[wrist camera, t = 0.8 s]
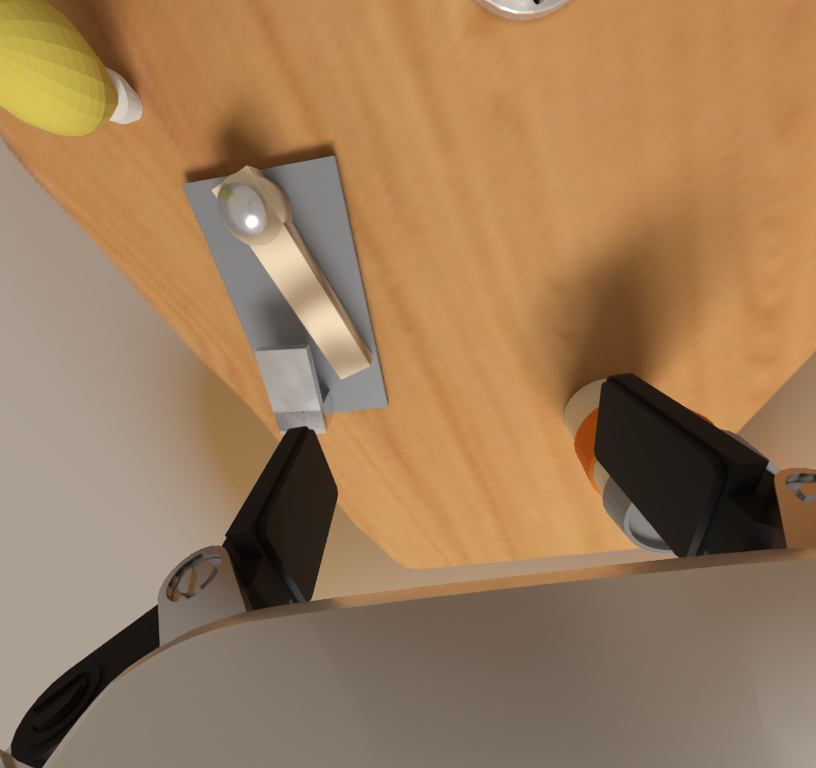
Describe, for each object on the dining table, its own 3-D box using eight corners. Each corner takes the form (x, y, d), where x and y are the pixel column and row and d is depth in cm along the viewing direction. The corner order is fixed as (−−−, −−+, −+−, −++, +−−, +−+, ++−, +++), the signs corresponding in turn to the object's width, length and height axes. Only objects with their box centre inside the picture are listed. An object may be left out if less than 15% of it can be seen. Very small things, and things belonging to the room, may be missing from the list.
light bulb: (177, 162, 26) (61, 134, 18) (94, 143, 26) (-69, 105, 17) (162, 56, 23) (12, -44, 14) (67, 32, 23) (-151, -87, 14)
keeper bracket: (272, 335, 33) (253, 351, 29) (318, 332, 33) (305, 348, 29) (294, 412, 38) (281, 435, 34) (334, 410, 37) (325, 432, 33)
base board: (189, 185, 27) (182, 184, 26) (336, 157, 26) (334, 155, 25) (284, 415, 39) (281, 419, 38) (388, 402, 38) (388, 406, 37)
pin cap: (217, 188, 24) (208, 187, 23) (261, 180, 24) (254, 178, 22) (236, 238, 26) (228, 239, 24) (277, 231, 25) (271, 232, 24)
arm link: (219, 196, 26) (203, 194, 24) (267, 163, 25) (254, 158, 23) (339, 372, 35) (334, 382, 32) (379, 353, 33) (377, 362, 31)
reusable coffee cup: (617, 343, 34) (748, 421, 21) (672, 404, 38) (811, 503, 25) (528, 413, 39) (590, 514, 26) (585, 462, 43) (664, 571, 29)
